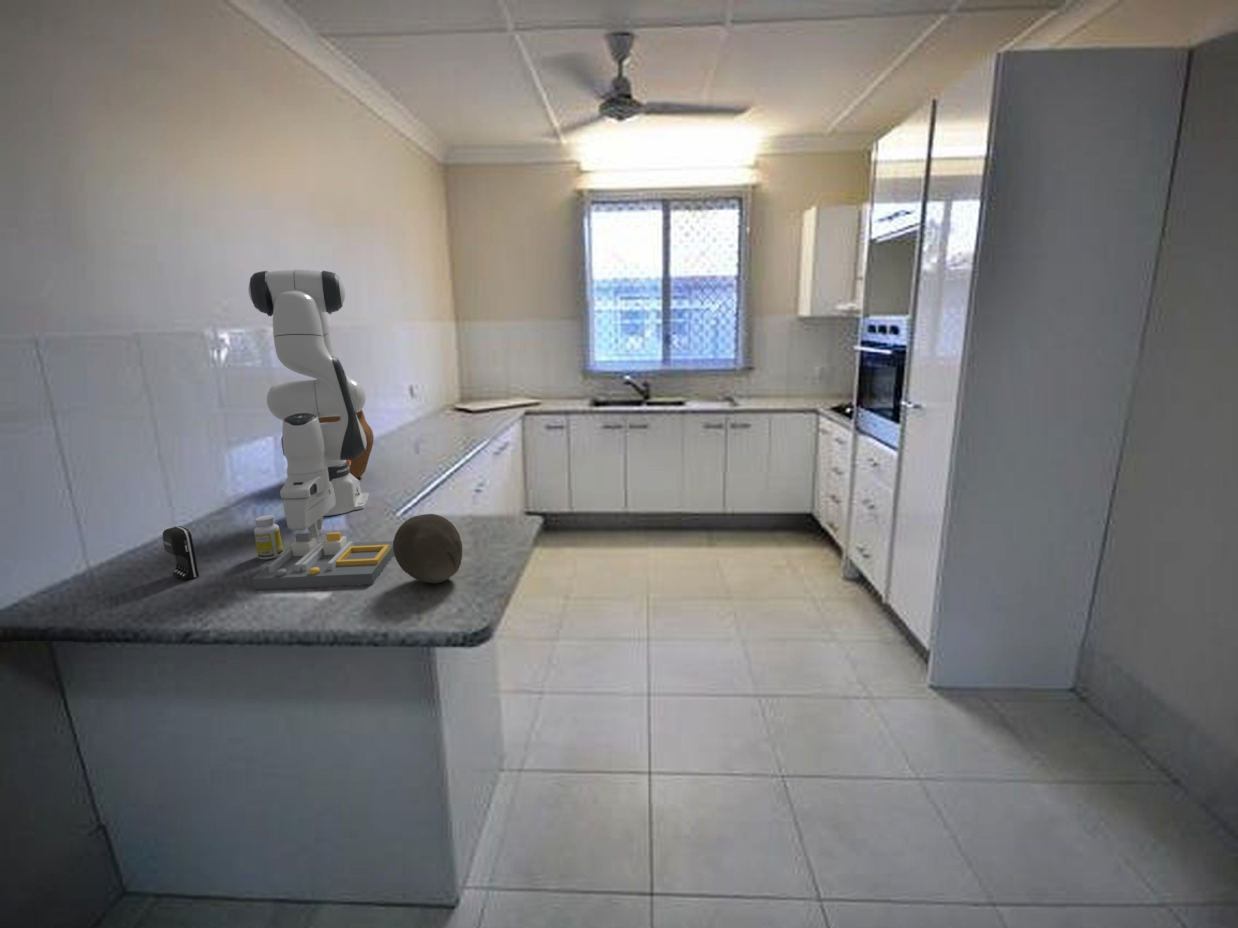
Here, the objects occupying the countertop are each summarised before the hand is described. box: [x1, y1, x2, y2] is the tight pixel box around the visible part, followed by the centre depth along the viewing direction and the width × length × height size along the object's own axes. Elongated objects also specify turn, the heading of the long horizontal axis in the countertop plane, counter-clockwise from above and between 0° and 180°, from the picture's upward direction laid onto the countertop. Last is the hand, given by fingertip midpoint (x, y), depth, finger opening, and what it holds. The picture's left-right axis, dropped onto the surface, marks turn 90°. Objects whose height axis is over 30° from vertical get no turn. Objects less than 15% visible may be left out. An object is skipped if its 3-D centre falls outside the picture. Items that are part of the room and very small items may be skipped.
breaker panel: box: [251, 540, 395, 591], centre depth 144 cm, size 20×25×4 cm
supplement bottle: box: [253, 514, 284, 560], centre depth 151 cm, size 5×5×10 cm
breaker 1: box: [290, 532, 318, 556], centre depth 146 cm, size 4×4×5 cm
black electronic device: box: [162, 525, 200, 581], centre depth 140 cm, size 7×4×11 cm, turn 55°
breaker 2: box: [322, 531, 348, 555], centre depth 147 cm, size 4×4×5 cm
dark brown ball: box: [392, 513, 463, 584], centre depth 134 cm, size 14×14×15 cm
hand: (316, 536), depth 153 cm, fingers closed
